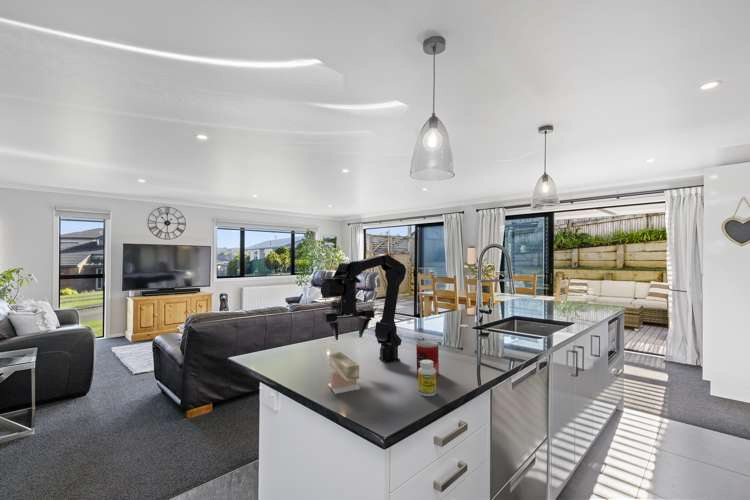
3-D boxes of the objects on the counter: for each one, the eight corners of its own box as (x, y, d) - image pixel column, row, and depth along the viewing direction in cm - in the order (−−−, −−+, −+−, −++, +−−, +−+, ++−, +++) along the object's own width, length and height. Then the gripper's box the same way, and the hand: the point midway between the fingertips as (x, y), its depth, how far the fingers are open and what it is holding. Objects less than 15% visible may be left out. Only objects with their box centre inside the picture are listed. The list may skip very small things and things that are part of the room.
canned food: (440, 371, 122) (439, 340, 122) (436, 379, 114) (436, 346, 115) (419, 369, 124) (418, 339, 125) (414, 376, 117) (414, 344, 117)
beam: (340, 363, 116) (340, 352, 116) (359, 378, 101) (359, 365, 101) (329, 365, 114) (329, 353, 114) (346, 380, 100) (346, 367, 100)
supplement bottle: (432, 389, 106) (431, 358, 106) (439, 395, 100) (438, 363, 101) (415, 390, 104) (415, 359, 105) (422, 397, 99) (421, 364, 99)
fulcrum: (351, 381, 112) (351, 366, 113) (359, 389, 106) (359, 373, 106) (328, 386, 109) (328, 370, 109) (335, 393, 103) (335, 377, 103)
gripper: (362, 292, 134) (363, 331, 134) (317, 295, 126) (317, 337, 126) (375, 295, 124) (375, 337, 124) (326, 298, 116) (326, 343, 116)
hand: (348, 338), depth 123 cm, fingers open, 9 cm apart
